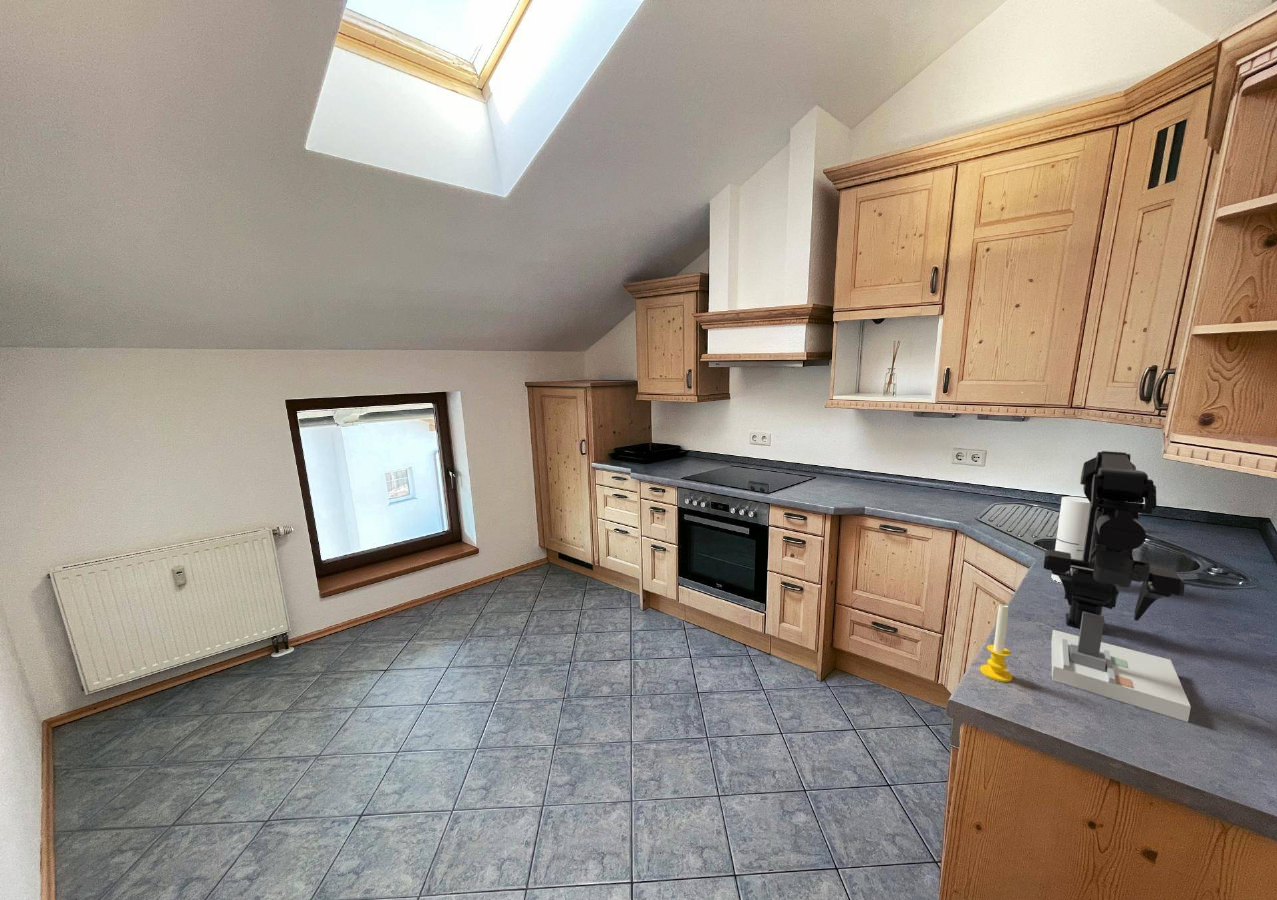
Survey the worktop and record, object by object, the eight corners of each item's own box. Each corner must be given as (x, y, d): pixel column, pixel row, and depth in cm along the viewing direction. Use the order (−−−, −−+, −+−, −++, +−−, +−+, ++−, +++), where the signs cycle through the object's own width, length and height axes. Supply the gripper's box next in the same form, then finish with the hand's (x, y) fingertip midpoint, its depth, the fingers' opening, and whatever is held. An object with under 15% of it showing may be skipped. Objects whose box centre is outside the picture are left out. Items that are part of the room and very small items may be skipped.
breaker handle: (1069, 652, 98) (1075, 608, 96) (1102, 662, 94) (1109, 615, 93) (1070, 661, 95) (1076, 615, 93) (1104, 671, 91) (1112, 623, 90)
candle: (977, 664, 99) (984, 595, 97) (1007, 669, 97) (1015, 599, 95) (984, 678, 94) (992, 606, 92) (1016, 684, 92) (1025, 611, 90)
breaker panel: (1051, 641, 107) (1053, 625, 107) (1168, 673, 96) (1171, 655, 95) (1051, 679, 94) (1054, 661, 93) (1187, 722, 82) (1191, 701, 81)
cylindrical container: (1049, 574, 143) (1060, 495, 140) (1081, 579, 139) (1092, 498, 136) (1052, 582, 138) (1063, 500, 134) (1085, 588, 134) (1098, 504, 130)
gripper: (1048, 535, 89) (1038, 612, 91) (1198, 559, 77) (1182, 647, 79) (1048, 522, 97) (1039, 592, 100) (1184, 542, 85) (1170, 621, 87)
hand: (1101, 612), depth 91 cm, fingers open, 9 cm apart
